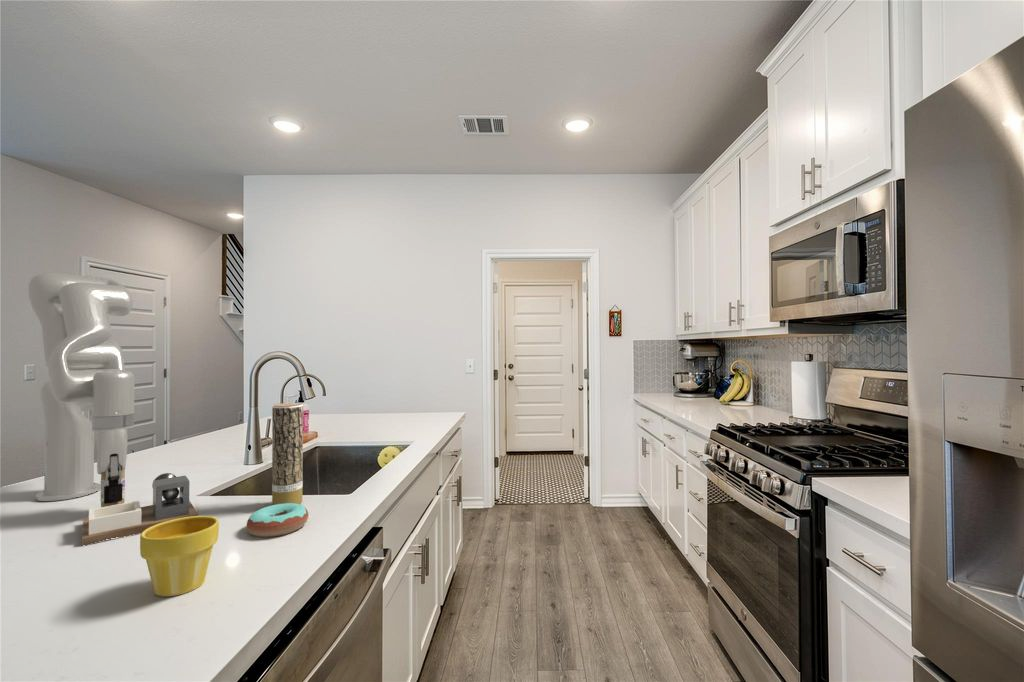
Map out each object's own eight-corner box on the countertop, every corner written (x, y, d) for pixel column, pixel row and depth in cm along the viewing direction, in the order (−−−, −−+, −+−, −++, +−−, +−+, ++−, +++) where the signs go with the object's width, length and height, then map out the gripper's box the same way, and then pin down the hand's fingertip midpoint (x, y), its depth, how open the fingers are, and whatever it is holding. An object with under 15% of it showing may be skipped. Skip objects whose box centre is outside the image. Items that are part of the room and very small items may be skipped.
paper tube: (308, 501, 114) (308, 403, 114) (287, 511, 108) (287, 406, 108) (287, 499, 116) (288, 402, 117) (265, 507, 110) (265, 405, 110)
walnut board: (83, 524, 100) (83, 517, 100) (187, 504, 113) (187, 498, 113) (82, 546, 89) (82, 538, 89) (198, 520, 102) (198, 514, 102)
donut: (318, 527, 98) (318, 509, 98) (258, 545, 89) (258, 525, 89) (295, 514, 106) (295, 497, 106) (238, 529, 97) (238, 511, 97)
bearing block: (152, 513, 102) (153, 480, 102) (185, 507, 106) (185, 475, 106) (155, 521, 98) (155, 486, 98) (189, 513, 102) (189, 480, 102)
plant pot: (188, 566, 80) (189, 511, 80) (232, 575, 77) (233, 518, 77) (123, 597, 70) (124, 534, 71) (170, 609, 67) (171, 543, 67)
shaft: (152, 496, 108) (152, 475, 108) (177, 491, 112) (178, 471, 112) (157, 507, 100) (157, 485, 100) (184, 502, 104) (184, 480, 104)
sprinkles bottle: (123, 513, 106) (124, 456, 106) (97, 518, 104) (98, 459, 104) (126, 508, 110) (127, 453, 110) (101, 512, 107) (102, 455, 108)
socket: (88, 523, 96) (89, 509, 97) (138, 513, 102) (138, 500, 102) (88, 535, 90) (88, 520, 91) (141, 524, 96) (141, 510, 96)
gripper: (92, 420, 111) (91, 494, 110) (92, 429, 98) (91, 512, 98) (131, 417, 116) (131, 488, 116) (136, 425, 104) (135, 504, 103)
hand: (112, 498), depth 107 cm, fingers closed on sprinkles bottle, 4 cm apart
